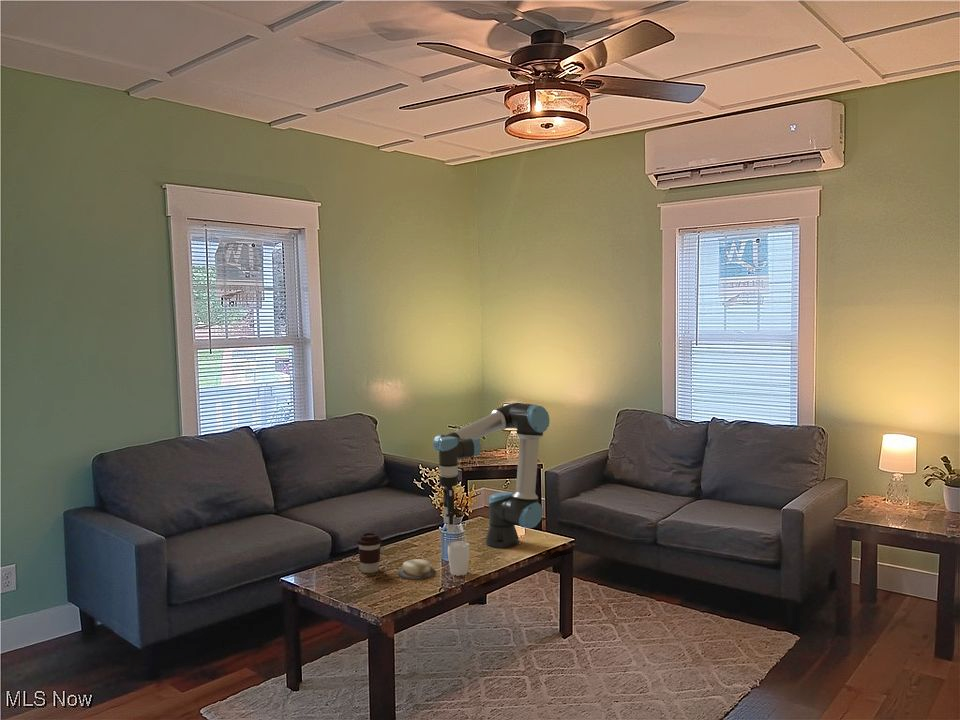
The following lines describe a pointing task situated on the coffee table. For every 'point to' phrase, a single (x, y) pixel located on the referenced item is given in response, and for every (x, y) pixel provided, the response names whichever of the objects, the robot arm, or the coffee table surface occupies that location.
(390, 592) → the coffee table surface
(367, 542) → the coffee cup
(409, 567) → the pedestal
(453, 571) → the cup
